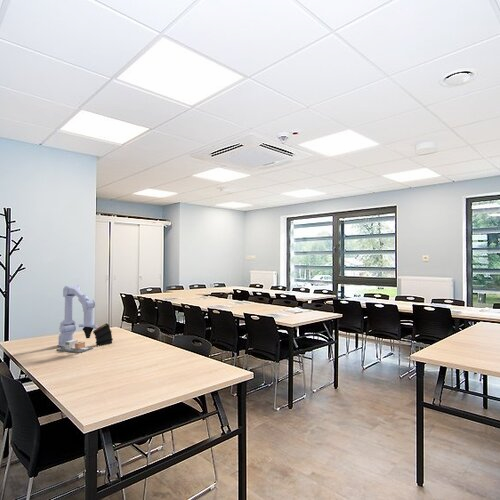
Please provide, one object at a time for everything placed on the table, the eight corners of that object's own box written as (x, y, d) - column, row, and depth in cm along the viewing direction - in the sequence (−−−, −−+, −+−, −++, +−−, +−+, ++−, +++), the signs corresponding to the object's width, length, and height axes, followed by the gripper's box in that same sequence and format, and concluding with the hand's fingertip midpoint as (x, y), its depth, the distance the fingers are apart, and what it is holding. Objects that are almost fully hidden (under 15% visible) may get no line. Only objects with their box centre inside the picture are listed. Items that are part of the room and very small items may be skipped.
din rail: (56, 350, 243) (56, 346, 243) (70, 346, 254) (70, 342, 254) (79, 353, 236) (79, 348, 237) (93, 349, 248) (93, 344, 248)
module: (64, 349, 243) (65, 341, 243) (73, 346, 250) (73, 339, 250) (69, 349, 242) (69, 342, 242) (77, 347, 249) (77, 340, 249)
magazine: (116, 340, 268) (108, 323, 264) (100, 350, 259) (91, 333, 255) (114, 339, 270) (106, 322, 266) (98, 349, 262) (89, 332, 258)
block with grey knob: (74, 348, 242) (74, 342, 242) (81, 346, 247) (81, 341, 247) (78, 348, 241) (78, 343, 241) (84, 347, 246) (85, 341, 247)
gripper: (75, 318, 241) (74, 338, 241) (92, 319, 236) (92, 340, 236) (83, 316, 248) (82, 336, 247) (100, 317, 243) (99, 337, 243)
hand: (87, 338), depth 242 cm, fingers closed
